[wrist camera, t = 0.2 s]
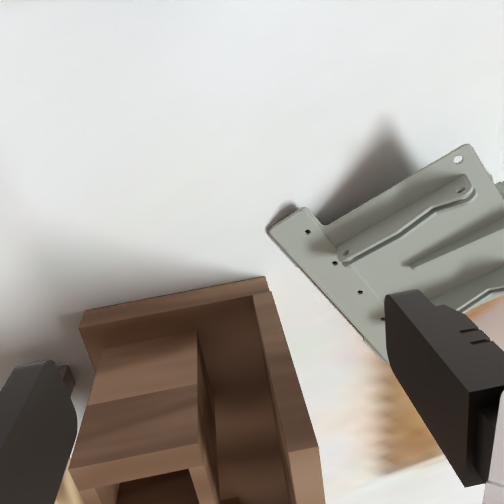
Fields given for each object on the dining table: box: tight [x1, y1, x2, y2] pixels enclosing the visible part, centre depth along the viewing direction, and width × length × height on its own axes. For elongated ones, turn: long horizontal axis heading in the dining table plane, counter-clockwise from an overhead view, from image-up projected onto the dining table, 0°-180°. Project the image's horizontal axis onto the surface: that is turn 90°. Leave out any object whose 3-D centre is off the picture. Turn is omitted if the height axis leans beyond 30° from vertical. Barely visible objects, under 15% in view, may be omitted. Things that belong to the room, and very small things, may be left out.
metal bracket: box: [268, 144, 504, 364], centre depth 30 cm, size 14×6×15 cm
